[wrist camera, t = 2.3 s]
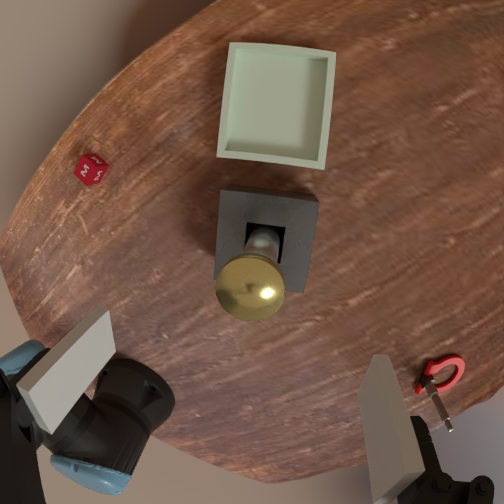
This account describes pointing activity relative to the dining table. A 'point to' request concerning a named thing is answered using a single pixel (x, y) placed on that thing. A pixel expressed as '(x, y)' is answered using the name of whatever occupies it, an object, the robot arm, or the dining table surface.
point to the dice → (91, 169)
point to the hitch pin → (253, 277)
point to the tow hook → (428, 385)
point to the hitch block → (270, 213)
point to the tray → (277, 104)
